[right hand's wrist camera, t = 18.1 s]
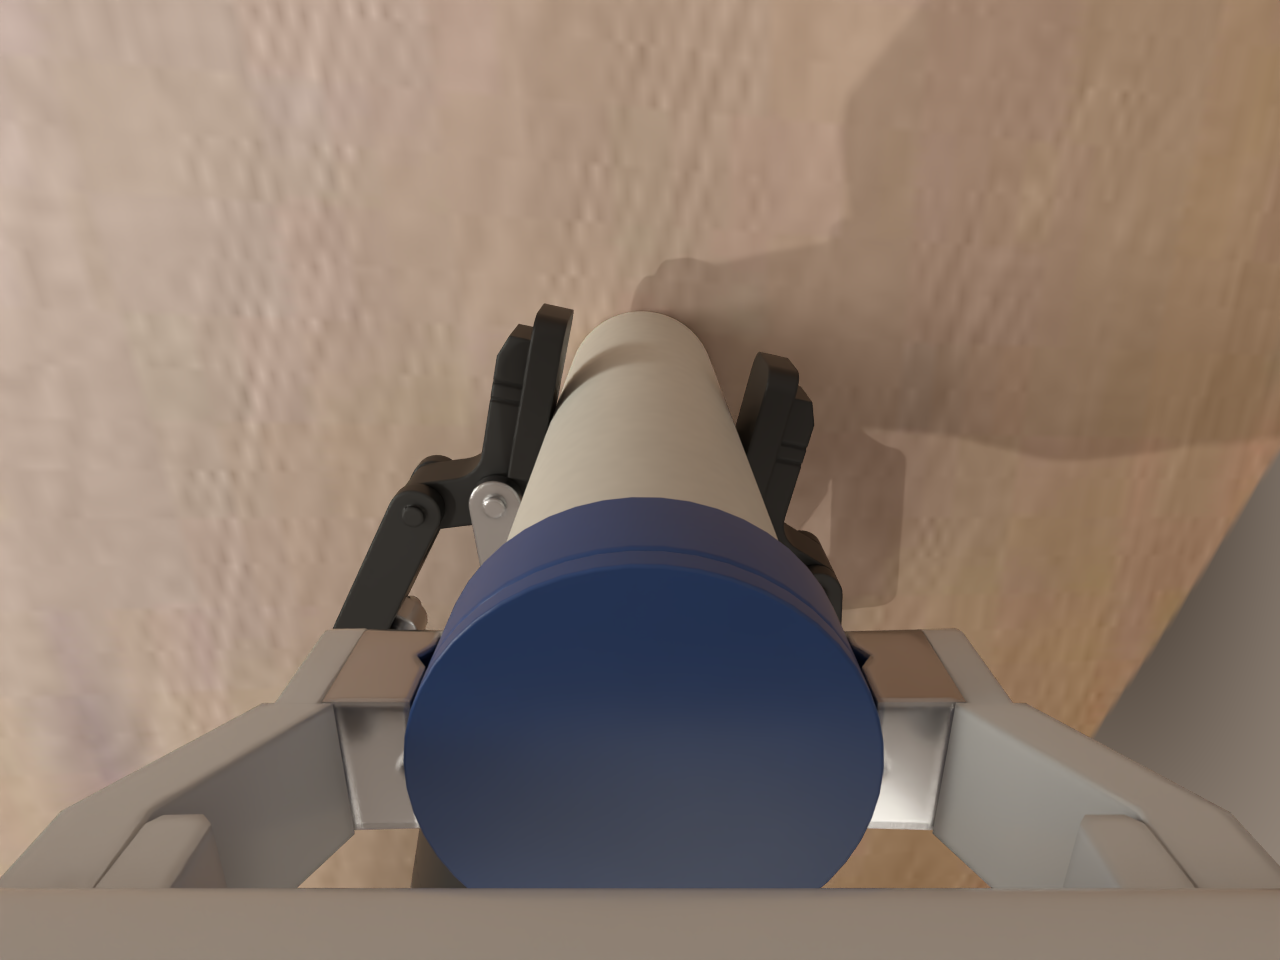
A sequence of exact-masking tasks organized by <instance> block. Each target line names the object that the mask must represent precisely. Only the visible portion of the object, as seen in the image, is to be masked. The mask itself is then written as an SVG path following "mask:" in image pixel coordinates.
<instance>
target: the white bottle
mask: <svg viewBox="0 0 1280 960" xmlns="http://www.w3.org/2000/svg"><path fill="white" fill-rule="evenodd" d="M628 497H661V498H669V499H676V500H683V501H690V502H694V503H698V504H702V505H706V506H709V507H713V508H717V509H720V510H722V511H725V512H727V513H730V514H732V515H735V516H737V517H740V518H742V519H744V520H746V521H748V522H750V523H751V524H753V525H755V526H757V527H758V528H760V529H762V530H764V531H766V532H767V533H769V534H770V535H771V536H773V537H774V538H775V539H777V540H778V538H777V536H776V533H775V531H774V528H773V525H772V523H771V520H770V517H769V515H768V512H767V509H766V507H765V504H764V501H763V499H762V496H761V493H760V491H759V488H758V486H757V483H756V480H755V478H754V475H753V472H752V470H751V467H750V464H749V462H748V459H747V456H746V454H745V451H744V449H743V446H742V443H741V441H740V438H739V435H738V433H737V430H736V427H735V425H734V422H733V419H732V417H731V414H730V412H729V409H728V406H727V404H726V401H725V398H724V396H723V393H722V390H721V388H720V385H719V382H718V380H717V377H716V375H715V372H714V369H713V367H712V364H711V361H710V359H709V356H708V353H707V351H706V350H705V348H704V346H703V344H702V343H701V341H700V340H699V339H698V337H697V336H696V335H695V334H694V333H693V332H692V331H691V330H690V329H689V328H688V327H686V326H685V325H684V324H682V323H681V322H679V321H677V320H676V319H674V318H671V317H669V316H667V315H663V314H660V313H655V312H649V311H635V312H628V313H624V314H620V315H617V316H614V317H612V318H610V319H608V320H606V321H604V322H603V323H601V324H600V325H598V326H597V327H596V328H594V329H593V330H592V331H591V332H590V333H589V334H588V335H587V337H586V338H585V339H584V340H583V342H582V343H581V345H580V347H579V348H578V350H577V352H576V354H575V357H574V359H573V362H572V365H571V367H570V370H569V373H568V376H567V378H566V381H565V384H564V387H563V389H562V392H561V395H560V397H559V400H558V403H557V406H556V408H555V411H554V414H553V417H552V419H551V422H550V425H549V427H548V430H547V433H546V436H545V438H544V441H543V444H542V446H541V449H540V452H539V455H538V457H537V460H536V463H535V466H534V468H533V471H532V474H531V476H530V479H529V482H528V485H527V487H526V490H525V493H524V495H523V498H522V501H521V504H520V506H519V509H518V512H517V515H516V517H515V520H514V523H513V525H512V528H511V531H510V534H509V536H508V539H507V541H509V540H510V539H512V538H513V537H514V536H516V535H517V534H519V533H520V532H521V531H523V530H524V529H526V528H528V527H530V526H532V525H534V524H536V523H538V522H539V521H541V520H543V519H545V518H547V517H549V516H552V515H554V514H557V513H560V512H563V511H565V510H568V509H571V508H573V507H577V506H581V505H585V504H589V503H594V502H598V501H602V500H610V499H619V498H628Z"/></svg>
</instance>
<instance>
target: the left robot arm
mask: <svg viewBox="0 0 1280 960" xmlns="http://www.w3.org/2000/svg"><path fill="white" fill-rule="evenodd" d="M573 311H574V310H572V309H567V308H563V307H558V306H553V305H549V304H544V305H543V306H542V307H541V309H540V310H539V311H538V313H537V315H536V318H535V322H534V326H533V327H531V326H526V325H522V324H518V326H517V327H516V328H515V329H514V331H513V332H512V333H511V334H510V336H509V337H508V339H507V341H506V342H505V344H504V345H503V347H502V349H501V350H500V352H499V354H498V355H497V359H496V366H495V372H494V378H493V379H494V380H493V385H492V391H491V399H490V404H489V411H488V417H487V424H486V430H485V437H484V443H483V450H482V453H481V454H479V455H477V456H475V457H472V458H467V459H459V460H452V459H450V458H448V457H445V456H441V455H433V456H429V457H427V458H425V459H424V460H422V461H421V462H420V464H419V465H418V466H417V468H416V469H415V470H414V472H413V474H412V476H411V478H410V480H409V482H408V483H407V484H406V486H405V487H403V488H402V489H400V490H399V491H398V493H397V494H396V495H395V497H394V498H393V499H392V501H391V502H390V504H389V506H388V509H387V511H386V513H385V515H384V517H383V520H382V522H381V524H380V526H379V528H378V531H377V533H376V535H375V537H374V539H373V541H372V544H371V546H370V548H369V550H368V552H367V555H366V557H365V559H364V561H363V563H362V566H361V568H360V570H359V572H358V574H357V577H356V579H355V581H354V583H353V585H352V587H351V590H350V592H349V594H348V596H347V598H346V601H345V603H344V605H343V607H342V609H341V612H340V614H339V616H338V618H337V620H336V623H335V625H334V627H333V629H359V628H366V629H368V630H369V629H400V630H425V628H426V625H427V620H428V619H427V613H426V611H425V609H424V608H423V607H422V606H421V602H420V600H419V599H418V598H417V597H415V596H408V594H409V592H410V590H411V588H412V586H413V584H414V582H415V580H416V578H417V576H418V574H419V572H420V570H421V568H422V566H423V564H424V562H425V559H426V557H427V555H428V553H429V551H430V549H431V547H432V545H433V543H434V541H435V539H436V537H437V535H438V533H439V531H440V529H442V528H450V527H459V526H467V525H472V526H473V531H474V536H475V542H476V547H477V552H478V557H479V562H480V566H481V565H482V564H483V563H484V562H485V561H486V560H487V559H488V558H489V557H490V556H491V555H492V554H493V553H494V552H495V551H497V550H498V549H499V548H500V547H501V546H502V545H503V544H504V543H506V542H507V539H508V536H509V534H510V531H511V528H512V525H513V523H514V520H515V517H516V515H517V512H518V509H519V506H520V504H521V501H522V498H523V495H524V493H525V490H526V487H527V485H528V482H529V479H530V476H531V474H532V471H533V468H534V466H535V463H536V460H537V457H538V455H539V452H540V449H541V446H542V444H543V441H544V438H545V436H546V433H547V430H548V427H549V425H550V422H551V419H552V417H553V414H554V411H555V408H556V405H557V400H558V394H559V389H560V384H561V378H562V373H563V368H564V362H565V357H566V352H567V346H568V341H569V336H570V330H571V325H572V319H573ZM798 383H799V373H798V371H797V369H796V368H795V367H794V365H793V364H792V363H791V362H790V360H789V359H788V358H785V357H780V356H776V355H771V354H767V353H762V352H759V353H758V354H757V355H756V358H755V360H754V363H753V366H752V369H751V373H750V376H749V380H748V384H747V387H746V391H745V394H744V398H743V402H742V405H741V409H740V412H739V416H738V420H737V423H736V430H737V433H738V435H739V438H740V441H741V443H742V446H743V449H744V451H745V454H746V456H747V459H748V462H749V464H750V467H751V470H752V472H753V475H754V478H755V480H756V483H757V486H758V488H759V491H760V493H761V496H762V499H763V501H764V504H765V507H766V509H767V512H768V515H769V517H770V520H771V523H772V525H773V528H774V531H775V533H776V536H777V538H778V541H779V542H781V543H782V544H783V545H785V546H786V547H787V548H789V549H790V550H791V551H792V552H793V553H794V554H795V555H796V556H797V557H798V558H799V559H800V560H801V561H802V562H803V563H804V564H805V565H806V566H807V567H808V569H809V570H810V571H811V573H812V574H813V575H814V577H815V578H816V579H817V581H818V582H819V583H820V585H821V586H822V588H823V589H824V591H825V593H826V595H827V597H828V599H829V601H830V602H831V604H832V606H833V608H834V610H835V613H836V615H837V617H838V619H839V622H840V624H841V619H842V588H841V586H840V584H839V582H838V579H837V577H836V575H835V573H834V571H833V569H832V567H831V565H830V563H829V560H828V558H827V556H826V554H825V552H824V550H823V548H822V546H821V544H820V542H819V540H818V539H817V537H816V536H815V535H813V534H812V533H810V532H807V531H797V530H795V529H794V528H792V527H790V526H789V525H787V524H786V523H784V520H785V516H786V513H787V509H788V506H789V503H790V500H791V497H792V494H793V490H794V487H795V484H796V481H797V478H798V475H799V472H800V468H801V464H802V462H803V459H804V456H805V453H806V448H807V446H808V443H809V440H810V437H811V434H812V430H813V427H814V417H813V405H812V401H811V400H810V399H809V397H808V396H807V395H806V393H805V392H804V390H803V389H802V388H801V386H798ZM407 596H408V597H407ZM411 888H467V887H466V886H464V885H463V884H462V883H461V882H460V881H459V880H458V879H457V878H456V877H455V876H454V875H453V874H452V873H451V872H450V871H449V869H448V868H447V867H446V866H445V865H444V864H443V862H442V861H441V860H440V859H439V858H438V857H437V855H436V853H435V852H434V850H433V849H432V847H431V846H430V844H429V843H428V841H427V840H426V838H425V836H424V835H423V832H422V830H421V828H420V829H419V836H418V842H417V849H416V855H415V862H414V868H413V875H412V882H411Z"/></svg>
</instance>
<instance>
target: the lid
mask: <svg viewBox="0 0 1280 960" xmlns="http://www.w3.org/2000/svg"><path fill="white" fill-rule="evenodd" d="M403 764H404V772H405V781H406V788H407V792H408V795H409V799H410V802H411V806H412V809H413V813H414V815H415V817H416V819H417V822H418V824H419V826H420V828H421V830H422V832H423V835H424V836H425V838H426V840H427V841H428V843H429V844H430V846H431V847H432V849H433V850H434V852H435V853H436V855H437V857H438V858H439V859H440V860H441V861H442V862H443V864H444V865H445V866H446V867H447V868H448V869H449V871H450V872H451V873H452V874H453V875H454V876H455V877H456V878H457V879H458V880H459V881H460V882H461V883H462V884H463V885H464V886H466V887H467V888H821V887H822V886H823V885H825V884H826V883H827V882H828V881H829V880H830V879H831V878H832V877H833V876H834V875H835V874H836V872H837V871H838V870H839V869H840V868H841V867H842V866H843V865H844V864H845V863H846V861H847V860H848V858H849V857H850V856H851V854H852V853H853V851H854V850H855V848H856V847H857V845H858V844H859V843H860V841H861V839H862V837H863V835H864V833H865V831H866V829H867V827H868V825H869V823H870V821H871V819H872V817H873V814H874V811H875V807H876V804H877V801H878V798H879V795H880V790H881V783H882V777H883V770H884V741H883V735H882V729H881V724H880V718H879V714H878V711H877V709H876V706H875V703H874V700H873V697H872V694H871V692H870V689H869V687H868V685H867V682H866V680H865V678H864V676H863V674H862V672H861V669H860V667H859V664H858V662H857V660H856V658H855V655H854V653H853V651H852V649H851V646H850V644H849V642H848V640H847V637H846V635H845V633H844V631H843V628H842V626H841V624H840V622H839V619H838V617H837V615H836V613H835V610H834V608H833V606H832V604H831V602H830V601H829V599H828V597H827V595H826V593H825V591H824V589H823V588H822V586H821V585H820V583H819V582H818V581H817V579H816V578H815V577H814V575H813V574H812V573H811V571H810V570H809V569H808V567H807V566H806V565H805V564H804V563H803V562H802V561H801V560H800V559H799V558H798V557H797V556H796V555H795V554H794V553H793V552H792V551H791V550H790V549H789V548H787V547H786V546H785V545H783V544H782V543H781V542H779V541H778V540H777V539H775V538H774V537H773V536H771V535H770V534H769V533H767V532H766V531H764V530H762V529H760V528H758V527H757V526H755V525H753V524H751V523H750V522H748V521H746V520H744V519H742V518H740V517H737V516H735V515H732V514H730V513H727V512H725V511H722V510H720V509H717V508H713V507H709V506H706V505H702V504H698V503H694V502H690V501H683V500H676V499H669V498H661V497H628V498H619V499H610V500H602V501H598V502H594V503H589V504H585V505H581V506H577V507H573V508H571V509H568V510H565V511H563V512H560V513H557V514H554V515H552V516H549V517H547V518H545V519H543V520H541V521H539V522H538V523H536V524H534V525H532V526H530V527H528V528H526V529H524V530H523V531H521V532H520V533H519V534H517V535H516V536H514V537H513V538H512V539H510V540H509V541H507V542H506V543H504V544H503V545H502V546H501V547H500V548H499V549H498V550H497V551H495V552H494V553H493V554H492V555H491V556H490V557H489V558H488V559H487V560H486V561H485V562H484V563H483V564H482V565H481V566H480V568H479V569H478V570H477V571H476V573H475V574H474V575H473V576H472V578H471V579H470V580H469V581H468V583H467V585H466V586H465V588H464V590H463V591H462V593H461V595H460V597H459V598H458V600H457V602H456V604H455V606H454V608H453V610H452V613H451V615H450V617H449V620H448V622H447V624H446V626H445V629H444V631H443V633H442V636H441V638H440V640H439V642H438V645H437V647H436V649H435V652H434V654H433V656H432V658H431V661H430V663H429V666H428V668H427V670H426V672H425V674H424V677H423V679H422V681H421V684H420V686H419V689H418V691H417V694H416V696H415V699H414V701H413V704H412V706H411V709H410V712H409V717H408V722H407V726H406V731H405V736H404V756H403Z"/></svg>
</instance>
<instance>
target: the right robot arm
mask: <svg viewBox="0 0 1280 960" xmlns="http://www.w3.org/2000/svg"><path fill="white" fill-rule="evenodd" d="M443 631H444V630H400V629H369V630H368V629H366V628H359V629H330V630H327V631H325V632H324V633H323V634H322V636H321V637H320V638H319V640H318V641H317V643H316V644H315V646H314V647H313V648H312V650H311V651H310V653H309V654H308V656H307V657H306V659H305V660H304V661H303V663H302V664H301V666H300V667H299V669H298V670H297V672H296V673H295V674H294V676H293V677H292V679H291V680H290V682H289V683H288V685H287V686H286V687H285V689H284V690H283V692H282V693H281V695H280V696H279V698H278V699H277V700H276V702H275V703H262V704H260V705H258V706H256V707H255V708H253V709H251V710H249V711H247V712H245V713H243V714H241V715H240V716H238V717H236V718H234V719H232V720H230V721H228V722H227V723H225V724H223V725H221V726H219V727H217V728H215V729H213V730H212V731H210V732H208V733H206V734H204V735H202V736H200V737H199V738H197V739H195V740H193V741H191V742H189V743H187V744H186V745H184V746H182V747H180V748H178V749H176V750H174V751H172V752H171V753H169V754H167V755H165V756H163V757H161V758H159V759H158V760H156V761H154V762H152V763H150V764H148V765H146V766H144V767H143V768H141V769H139V770H137V771H135V772H133V773H131V774H130V775H128V776H126V777H124V778H122V779H120V780H118V781H116V782H115V783H113V784H111V785H109V786H107V787H105V788H103V789H102V790H100V791H98V792H96V793H94V794H92V795H90V796H88V797H87V798H85V799H83V800H81V801H79V802H77V803H75V804H74V805H72V806H70V807H68V808H66V809H64V810H62V811H61V812H60V813H59V814H58V815H57V816H56V817H55V818H54V820H53V821H52V822H51V823H50V824H49V825H48V826H47V827H46V828H45V829H44V831H43V832H42V833H41V834H40V835H39V836H38V837H37V838H36V839H35V840H34V842H33V843H32V844H31V845H30V846H29V847H28V848H27V849H26V850H25V851H24V853H23V854H22V855H21V856H20V857H19V858H18V859H17V860H16V861H15V862H14V864H13V865H12V866H11V867H10V868H9V869H8V870H7V871H6V872H5V873H4V875H3V876H2V877H1V878H0V960H1280V866H1279V865H1278V864H1277V863H1276V862H1275V860H1274V859H1273V858H1272V857H1271V856H1270V855H1269V854H1268V853H1267V852H1266V851H1265V850H1264V849H1263V847H1262V846H1261V845H1260V844H1259V843H1258V842H1257V841H1256V840H1255V839H1254V838H1253V837H1252V835H1251V834H1250V833H1249V832H1248V831H1247V830H1246V829H1245V828H1244V827H1243V826H1242V825H1241V823H1240V822H1239V821H1238V820H1237V819H1236V818H1235V817H1234V816H1233V815H1232V814H1231V813H1230V812H1229V811H1227V810H1225V809H1223V808H1221V807H1219V806H1217V805H1215V804H1214V803H1212V802H1210V801H1208V800H1206V799H1204V798H1202V797H1201V796H1199V795H1197V794H1195V793H1193V792H1191V791H1189V790H1187V789H1185V788H1184V787H1182V786H1180V785H1178V784H1176V783H1174V782H1172V781H1170V780H1169V779H1167V778H1165V777H1163V776H1161V775H1159V774H1157V773H1155V772H1154V771H1152V770H1150V769H1148V768H1146V767H1144V766H1142V765H1140V764H1139V763H1137V762H1135V761H1133V760H1131V759H1129V758H1127V757H1125V756H1123V755H1122V754H1120V753H1118V752H1116V751H1114V750H1112V749H1110V748H1109V747H1107V746H1105V745H1103V744H1101V743H1099V742H1097V741H1095V740H1094V739H1092V738H1090V737H1088V736H1086V735H1084V734H1082V733H1080V732H1079V731H1077V730H1075V729H1073V728H1071V727H1069V726H1067V725H1065V724H1064V723H1062V722H1060V721H1058V720H1056V719H1054V718H1052V717H1050V716H1049V715H1047V714H1045V713H1043V712H1041V711H1039V710H1037V709H1035V708H1033V707H1032V706H1030V705H1028V704H1026V703H1013V702H1012V701H1011V699H1010V698H1009V696H1008V695H1007V694H1006V692H1005V691H1004V689H1003V688H1002V687H1001V685H1000V684H999V682H998V681H997V680H996V678H995V677H994V675H993V674H992V673H991V671H990V670H989V668H988V667H987V666H986V664H985V663H984V661H983V660H982V659H981V657H980V656H979V654H978V653H977V652H976V650H975V649H974V647H973V646H972V645H971V643H970V642H969V641H968V639H967V638H966V636H965V635H964V634H963V632H962V631H960V630H958V629H956V628H944V629H918V630H884V631H845V632H844V633H845V635H846V637H847V640H848V642H849V644H850V646H851V649H852V651H853V653H854V655H855V658H856V660H857V662H858V664H859V667H860V669H861V672H862V674H863V676H864V678H865V680H866V682H867V685H868V687H869V689H870V692H871V694H872V697H873V700H874V703H875V706H876V709H877V711H878V714H879V718H880V724H881V729H882V735H883V741H884V770H883V777H882V783H881V790H880V795H879V798H878V801H877V804H876V807H875V811H874V814H873V817H872V819H871V821H870V823H869V825H868V827H867V828H879V829H916V830H933V834H934V835H935V836H936V837H937V838H938V839H939V840H940V841H941V842H943V843H944V844H945V845H946V846H947V847H948V848H949V849H950V850H951V851H952V852H953V853H954V854H955V855H957V856H958V857H959V858H960V859H961V860H962V861H963V862H964V863H965V864H966V865H967V866H968V867H969V868H971V869H972V870H973V871H974V872H975V873H976V874H977V875H978V876H979V877H980V878H981V879H982V880H983V881H985V882H986V883H987V884H988V885H989V886H990V887H991V888H297V887H298V886H299V885H300V884H301V883H303V882H304V881H305V880H306V879H307V878H308V877H309V876H310V875H311V874H312V873H313V872H314V871H315V870H316V869H318V868H319V867H320V866H321V865H322V864H323V863H324V862H325V861H326V860H327V859H328V858H329V857H330V856H331V855H333V854H334V853H335V852H336V851H337V850H338V849H339V848H340V847H341V846H342V845H343V844H344V843H345V842H346V841H348V840H349V839H350V838H351V837H352V836H353V835H354V834H355V833H354V830H371V829H406V828H420V826H419V824H418V822H417V819H416V817H415V815H414V813H413V809H412V806H411V802H410V799H409V795H408V792H407V788H406V781H405V772H404V764H403V756H404V736H405V731H406V726H407V722H408V717H409V712H410V709H411V706H412V704H413V701H414V699H415V696H416V694H417V691H418V689H419V686H420V684H421V681H422V679H423V677H424V674H425V672H426V670H427V668H428V666H429V663H430V661H431V658H432V656H433V654H434V652H435V649H436V647H437V645H438V642H439V640H440V638H441V636H442V633H443Z"/></svg>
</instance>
